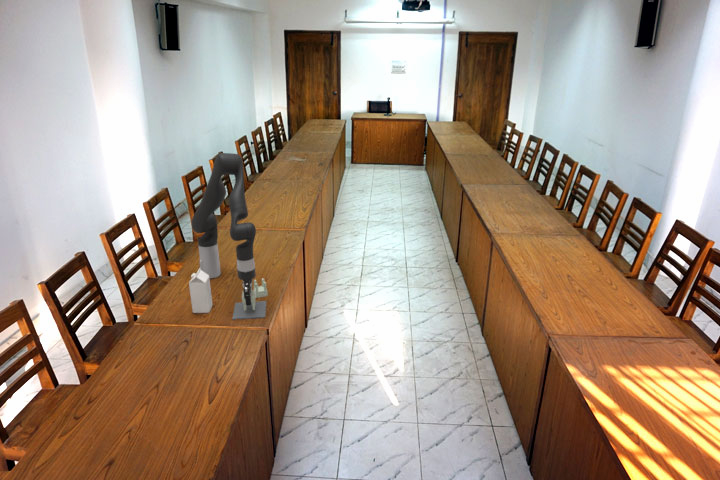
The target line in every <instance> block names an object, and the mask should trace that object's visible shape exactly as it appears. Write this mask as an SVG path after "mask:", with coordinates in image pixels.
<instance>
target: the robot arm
mask: <svg viewBox="0 0 720 480" xmlns="http://www.w3.org/2000/svg"><path fill="white" fill-rule="evenodd" d="M244 171H245V170H244V162H243V159H242V156H241V154H238V153H228V152H221V153H218V154H217V155H216V157H215V159H214V162H213V166H212V171H211V174H210V177H209V180H208V183H207V184H206V187H205V189H204V193H203V195H202V199H201V201H200V202H199V205H198V207H197V209H196V211H195V212H194V214H193V216H192V218H191V228H192V230H193V231H194V232H195V233H197V234H202V235H201V236H199V237H198V239H197V244H198V252H199V253H198V254H199V260H198V261H199V268H200V269H201V270H202V271H203V272H205V273H206V274H208V275H209V279H215V278H218V277H220V276H221V273H222V272H221V264H220V255H219V253H220V252H219V246H218V244H219V243H218V235H219V234H218V232H219V231H218V221H217V218H216V215H215V214H214V212H216V211H217V210H218V209H219V208H220V207H221V206H222V204H223V202H224V201H225V198H226V195H227V190H226V187H225V184H224V182H223V181H222V177H223V176H225V175H229V176H234V179H235V180H234V185H233V187H232V190H231V192H230V194H229V197H228V206H229V211H230V217H231V218H230V220H231V221H230V229H229V236H230V238H231V239H232V240H233V241H234V242H239V241H244V242H242V243H239V244H237V245H236V247H235V252H236V269H237V277H238V279H239V280H240V281H242V293H243V292H244V299H246V305H247V306H249V305H251V292H252V290H253V280H254V279H255V278H256V277H257V275H256V274H257V273H256V264H255V258H254V242H255V238H256V233H257V228H256V226H255V224H254V223H252V222H249V221H248V222H243V223H242V222H241V223H239V222H240V221H242V220H245V219H246V218H247V217H248V216H249V211H248V207H247V201H246V194H245V193H246V192H245V172H244Z"/></svg>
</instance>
